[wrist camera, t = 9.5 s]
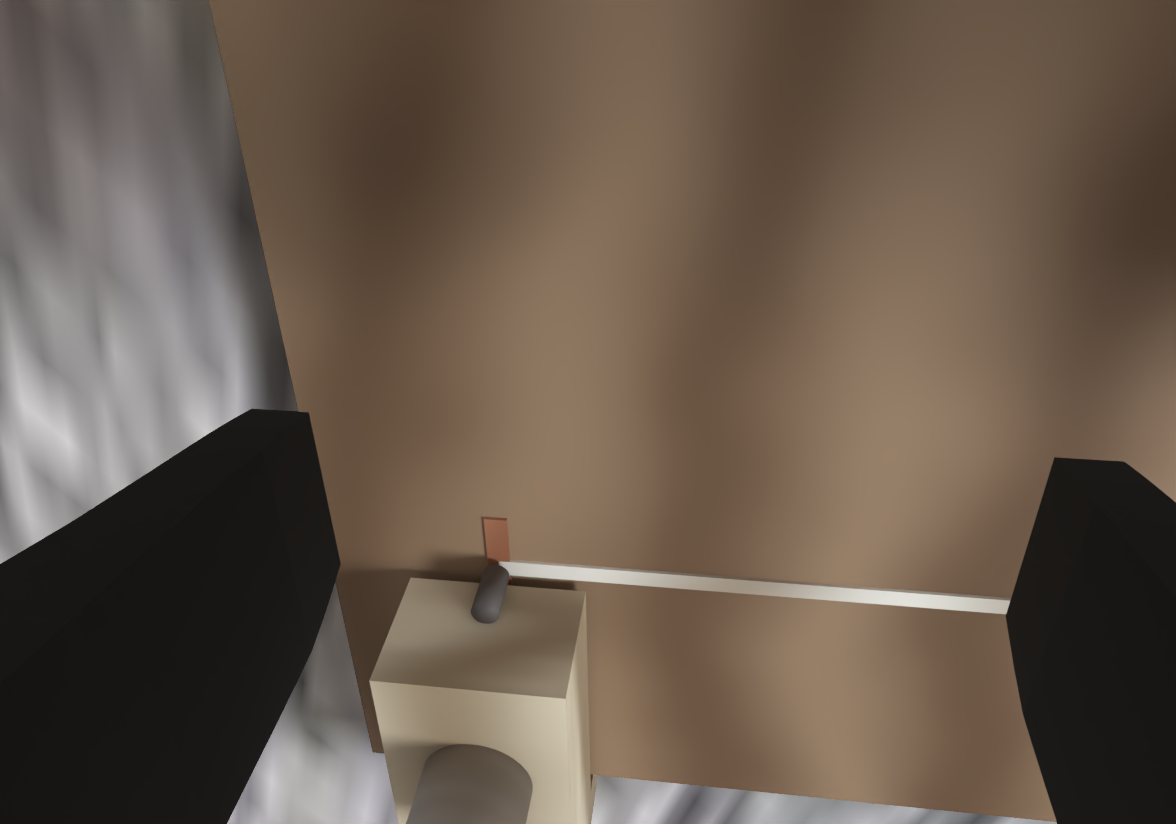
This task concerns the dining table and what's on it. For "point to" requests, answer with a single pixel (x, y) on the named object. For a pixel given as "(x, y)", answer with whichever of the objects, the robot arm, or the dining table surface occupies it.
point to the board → (725, 343)
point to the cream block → (486, 704)
